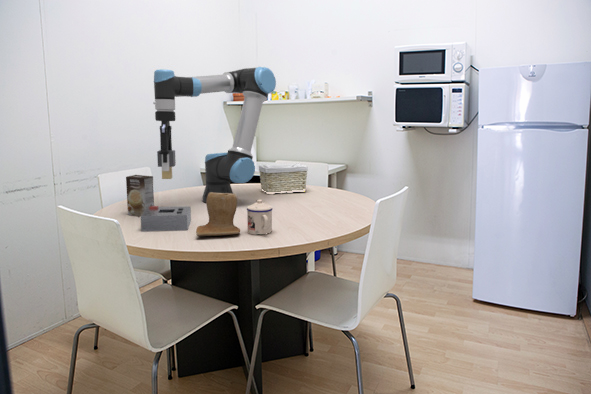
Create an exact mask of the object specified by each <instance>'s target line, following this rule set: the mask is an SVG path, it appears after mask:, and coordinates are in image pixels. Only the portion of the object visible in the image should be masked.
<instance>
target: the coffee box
mask: <svg viewBox="0 0 591 394" xmlns="http://www.w3.org/2000/svg"><path fill="white" fill-rule="evenodd" d="M125 180H126V181H125V182H126V183H125V184H126V202H127V203H126V204H127V215H128V216H134V217H141V215H142V214H143V213H144V212H145V210H146V209H147V208H148V207H150V206H155V197H154V195H155V194H154V192H155V191H154V176H153V175H141V174H132V175H129V176H125Z"/></svg>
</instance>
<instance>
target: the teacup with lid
mask: <svg viewBox="0 0 591 394" xmlns="http://www.w3.org/2000/svg"><path fill="white" fill-rule="evenodd" d="M246 211H247V214H246V216H247V233H248V234H250V235H253V234H265V235H267V234H266V233H269V234H271V233H272V232H273V207H272V205H269V204H267V203H266V202H263V199H257V200H256V202H254V203H253V204H251V205H248V206H247V207H246ZM271 231H272V232H271ZM270 232H271V233H270Z"/></svg>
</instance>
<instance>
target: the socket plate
mask: <svg viewBox="0 0 591 394" xmlns="http://www.w3.org/2000/svg"><path fill="white" fill-rule="evenodd" d="M191 209H192V207H191V205H190V206H188V205H187V206H186V205H185V206H184V205H183V206H159V205H154V206H150V207H148V208H147V209H146V210H145V212H144V213H143V214H142V215H141V216H140V227H141V232H160V231H161V232H162V231H163V232H166V231H188V230H189V227H190V224H191V220H192V210H191Z"/></svg>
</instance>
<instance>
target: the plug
mask: <svg viewBox="0 0 591 394" xmlns="http://www.w3.org/2000/svg"><path fill="white" fill-rule="evenodd" d="M160 151H161V149H159V150H157V151H156V153H157V154H156V156H157V157H156V158H157V167H159V168H162V154H159V152H160ZM168 152H169V153H168V154H169V171H162V170H161V179H162V180H172V179H173V167H175V166H176V162H177V161H176V150H175V149H172V150H168Z"/></svg>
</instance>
